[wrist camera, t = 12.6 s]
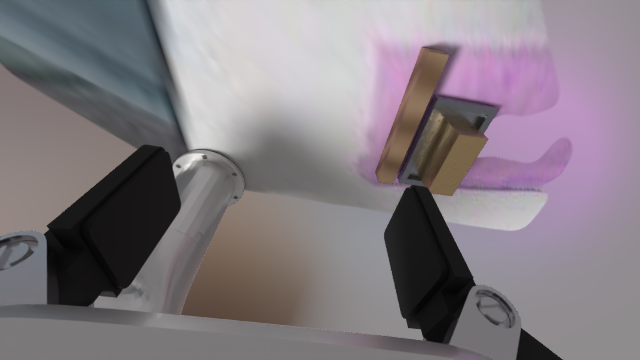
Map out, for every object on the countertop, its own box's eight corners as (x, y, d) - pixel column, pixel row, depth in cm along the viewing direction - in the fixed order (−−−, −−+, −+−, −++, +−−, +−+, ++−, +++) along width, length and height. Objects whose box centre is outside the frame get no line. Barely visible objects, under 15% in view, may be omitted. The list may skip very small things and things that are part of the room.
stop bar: (467, 119, 37) (488, 139, 32) (438, 173, 43) (451, 196, 38) (442, 115, 37) (459, 134, 32) (416, 169, 43) (427, 192, 38)
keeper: (444, 184, 45) (448, 189, 44) (397, 177, 45) (399, 182, 43) (493, 105, 36) (498, 109, 35) (434, 95, 35) (438, 98, 34)
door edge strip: (389, 173, 44) (392, 184, 42) (375, 171, 44) (378, 182, 42) (440, 50, 32) (449, 55, 30) (421, 46, 32) (429, 51, 29)
